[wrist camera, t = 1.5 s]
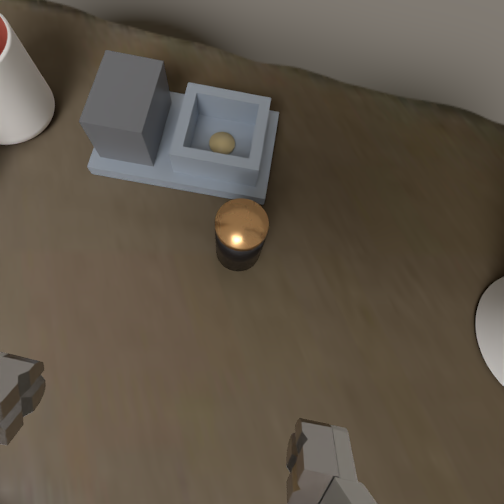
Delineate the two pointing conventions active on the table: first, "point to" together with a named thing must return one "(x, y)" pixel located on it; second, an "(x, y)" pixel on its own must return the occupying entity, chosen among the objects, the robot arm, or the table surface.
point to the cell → (240, 233)
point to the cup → (21, 91)
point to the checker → (177, 131)
